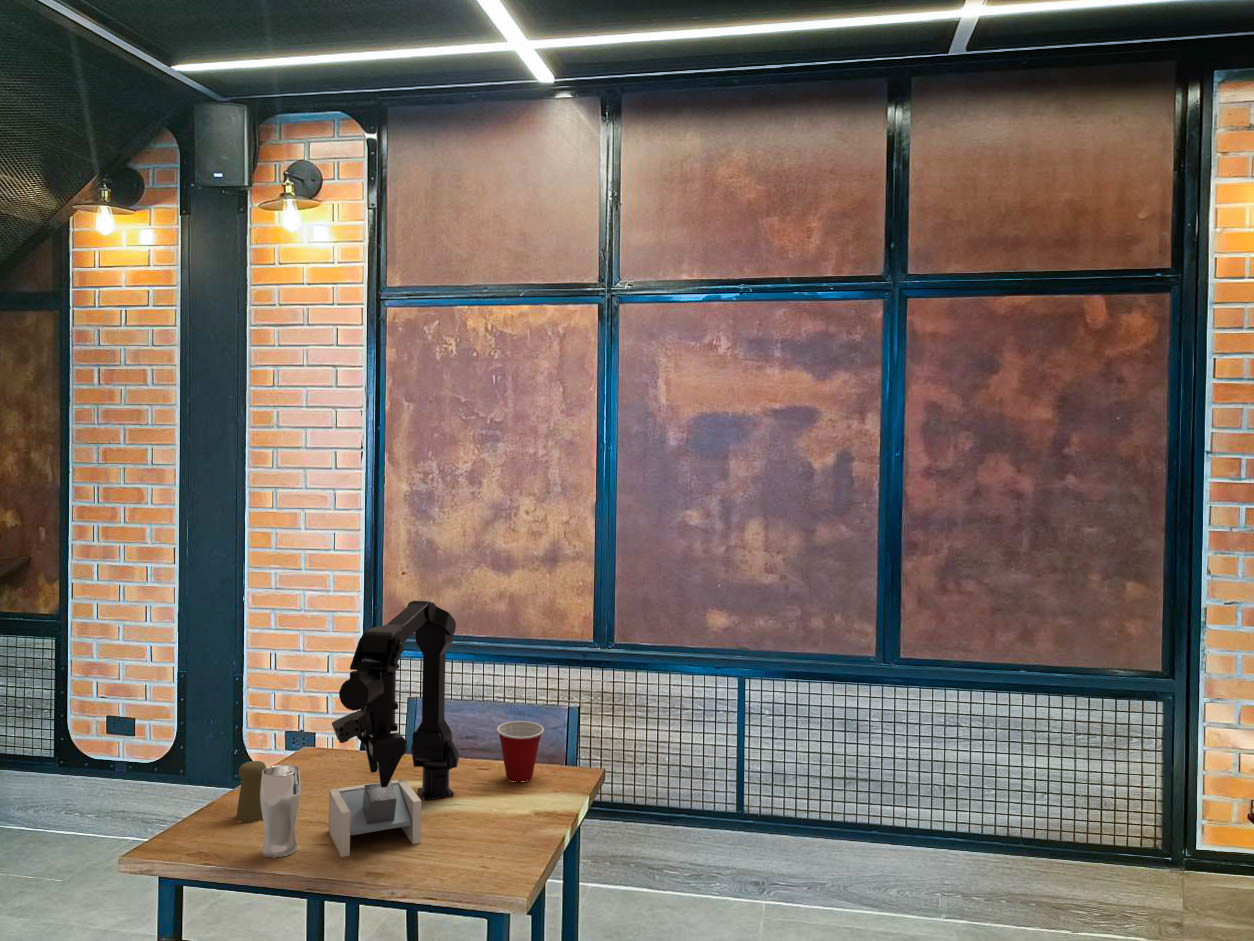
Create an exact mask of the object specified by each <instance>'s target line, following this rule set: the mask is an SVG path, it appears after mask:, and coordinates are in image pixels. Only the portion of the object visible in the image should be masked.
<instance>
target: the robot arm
mask: <svg viewBox="0 0 1254 941" xmlns="http://www.w3.org/2000/svg"><path fill="white" fill-rule="evenodd" d="M456 628H457V623H456V620H455V619H454V617H453V615H451V614H450V613H449V611H446V610H445V609H442V608H441V607H439V606H437V605H436V604H435V603H434V602H432V601H430V600H411V601H409V602H408V604H407V607H405V608H404V609H403V610H401V612H399V613H398V614H397V615H396V616H395V617H394V618H392V619H391V620H390V621H389V622H388V623H386V624H384V625H379V626H374V627H371V628H370V629H368V630H367V629H366V630H365V631H364V632H363V634H362V635H361V636H360V638H359V640H358V642H357V646H356V649H355V651H354V654H353V657H352V661H351V664H350V666H349V669H350V672H349V679H347V680H345V681H344V682H343V683H342V685H341V686H340V689H339V691H338V697H339V701H340V702H341V704H342V706H343V707H344V708H346V710H347V709H348V710H350V711H352V712H351V713H349V714H346V715H344V716H341V717H339V718H338V719H335V720H334V721H332V722H331V726H332V728H333V731H334V733H335V737H336V739H337V740H338V742H339V743H340V744H344V743H346V742H348V741H349V740H351V739H353V738H354V737H357V739H358V740H359V741H360V742H361V743H362V744H364V749H365V754H366V757H367V761H368V766H369V772H370V773H373V774H374V773H376V772H378V777H379V778H378V779H379V782H380V784H381V787H382V788H384V787H387V786H388V784H389V782H390V781H392V780H391V779H392V778H393V775H394V773H395V771H396V770H397V768H398V765H399V763H400V762H401V759H402V758H403V756H404V755H405V753H407V752H408V741H407V740H406V739H405V737H403V735H401V734H400V732H398V729H399V726H398V724H397V723H396V710H399V703H398V702H397V701H396V697H397V696H396V685H397V683H396V680H397V678H396V677H397V670H398V669H399V670H400V667H401V666H400V664H399V660H400V659H401V656H402V654H404V652H405V642H406V641H407V640H408V639H409V638H410V637H412V635H414V636H415V640H414V641H415V644H416V645H417V647H418V649H419V651H420V653H421V654H422V685H421V686H422V687H421V688H422V692H421V695H422V696H421V723H420V724H419V725H418V727H417V728H416V730H415V731H414V732H413V733H412V743H411V748H410V749H411V750H410V752H411V756H412V758H411V759H412V762H413V767H414V768H417V767H418V768H422V781H421V782H422V784H421V785H422V787H420V788H417V792H418V791H419V792H418V793H419V795H420V794H421V795H422V796H421V795H420V796H421V797H422V798H423V799H424V800H425V801H426V799H428V800H432V798H434V799H440V798H445V797H446V796H447V797H451V795H453V796H454V795H455V792H454V791H453V790H452V789H451V788H450V770H452V769H455V768H458V764H459V760H460V758H459V757H460V753H459V751H458V749H457V747H456V745H455V743H454V742H453V737H452V736H453V735H452V729H451V728H450V726H449V725H448V722H447V721H446V720H445V705H446V704H445V703H446V702H445V699H446V698H445V697H446V696H445V695H446V656H447V655H446V654H447V651H448V650H449V648H450V647H451V645H452V644H453V642H454V636H455V635H454V634H455V633H456ZM439 797H440V798H439Z"/></svg>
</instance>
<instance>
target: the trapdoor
mask: <svg viewBox="0 0 1254 941" xmlns="http://www.w3.org/2000/svg"><path fill="white" fill-rule="evenodd" d="M393 788H394V791H395V794H396V798H397V800H396V809H395V818H394V820H393V821H387V822H381V823H375V824H368V825H367V822H366V818H365V815H364V811H363V797H364V789H360V790H353V791H346V792H342V793H341V796H342V798H343V800H344V801H345V803H346V805H347V807H348V809H349V810H350V836H355V835H361V834H366V833H367V834H368V833H372V832H373V833H374V832H380V831H384V830H385V831H386V830H391V829H392V830H393V829H397V828H401V827H404V826H409V825H411V820H410V817H409V814H408V811H407V808H406V805H405V802H404V800H403V797H402V794H401V791H400V788H399V785H397V784H394V785H393Z"/></svg>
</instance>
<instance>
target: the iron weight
mask: <svg viewBox="0 0 1254 941" xmlns="http://www.w3.org/2000/svg"><path fill="white" fill-rule="evenodd" d="M376 783H377V784H372V783H369V784H370V785H365V784H364V785H365V786H364V797H363V811H364V815H365V818H366V822H367V825H368V824H375V823H381V822H387V821H393V820H394V818H395V809H396V800H397V798H396V794H395V791H394V788H393V785H392V782H389V784H388V786H387V787H384V788H382V787H381V784H380V783H379V782H376Z"/></svg>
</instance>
